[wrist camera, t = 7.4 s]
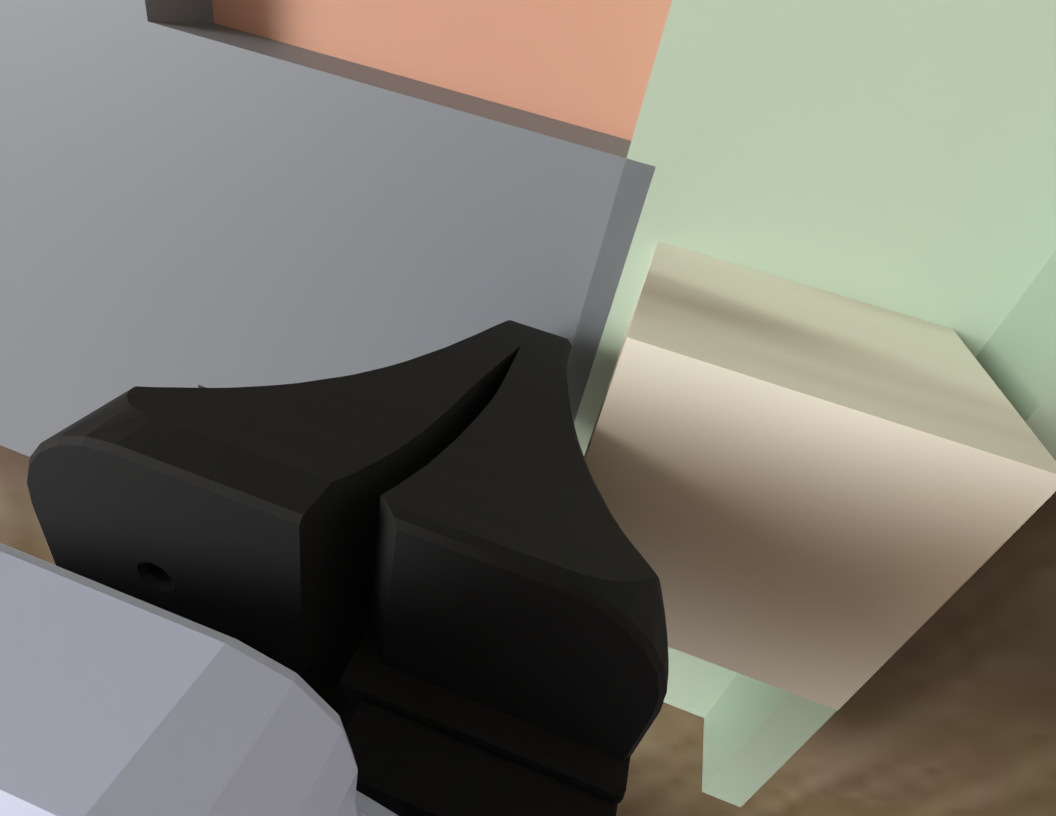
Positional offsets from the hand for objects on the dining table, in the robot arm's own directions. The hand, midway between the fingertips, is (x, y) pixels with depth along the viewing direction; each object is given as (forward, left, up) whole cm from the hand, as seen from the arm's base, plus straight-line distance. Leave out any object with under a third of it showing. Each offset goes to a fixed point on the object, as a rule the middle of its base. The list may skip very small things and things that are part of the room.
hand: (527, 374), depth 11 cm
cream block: (0, -4, -1) cm, 4 cm away
